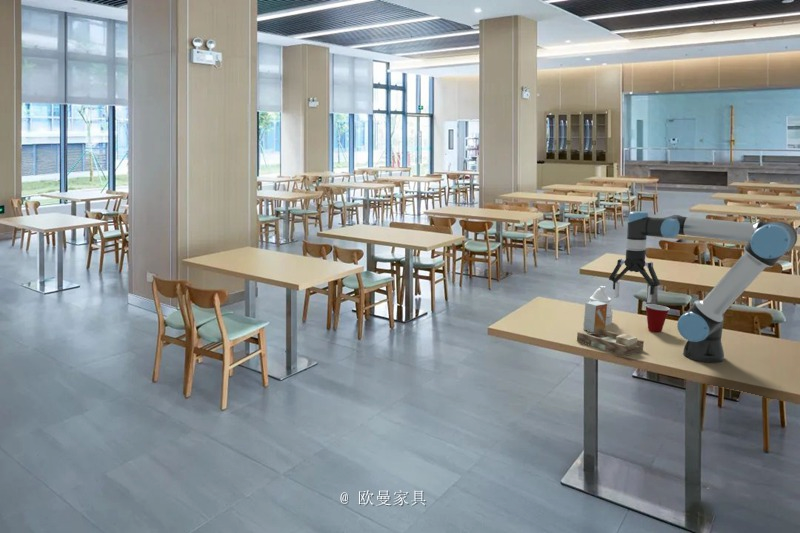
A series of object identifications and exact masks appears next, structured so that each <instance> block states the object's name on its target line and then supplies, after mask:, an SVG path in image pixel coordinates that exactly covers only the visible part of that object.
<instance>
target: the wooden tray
mask: <svg viewBox="0 0 800 533" xmlns="http://www.w3.org/2000/svg"><path fill="white" fill-rule="evenodd" d="M619 335H621V334H620V333H616V332H612V331H610V330H606V329H605V330H603V329H599V328H594V332H589V333H585V332H581V331H577V336H576V341H577V342H579V343H582V344H585V343H586V344H585V345H588V344H589V346H591V345H592V347H593V348H598V349H601V350H604V351H608V352H611V353H614V354H617V355H620V356H624V357H626V356H629V355H632V354H637V353H639V352H642V351H644V342H645V341H644V340H641V339H638V338H637V346H636V347H633V348H630V349H627V346H625V345H622V344H618V343H616V336H619Z"/></svg>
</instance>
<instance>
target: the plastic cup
mask: <svg viewBox="0 0 800 533" xmlns="http://www.w3.org/2000/svg"><path fill="white" fill-rule="evenodd" d="M644 306H645V311H646V322H647V330H648V332H651V333H654V334H656V333H660V334H661V333H662V331H663V328H664V326H665V321H666V319H667V316H668V313H669V311H670V310H671V308H669V307H667V306H665V305H660V304H653V303H646V304H645V305H644Z"/></svg>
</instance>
